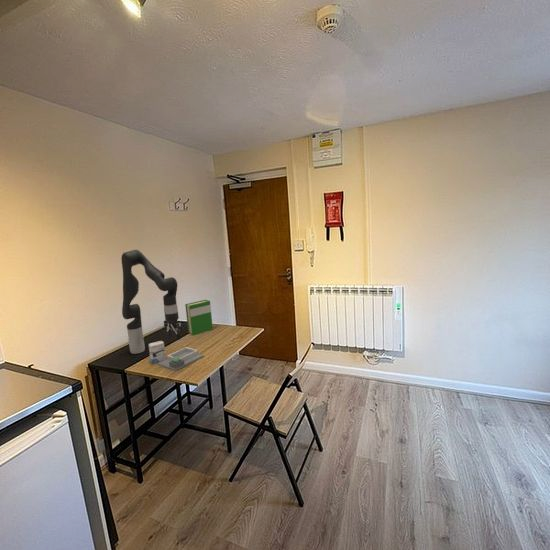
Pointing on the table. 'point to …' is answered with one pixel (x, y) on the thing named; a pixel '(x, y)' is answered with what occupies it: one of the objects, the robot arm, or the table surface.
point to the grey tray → (181, 359)
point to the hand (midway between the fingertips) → (174, 338)
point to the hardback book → (199, 317)
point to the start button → (176, 359)
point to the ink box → (157, 351)
